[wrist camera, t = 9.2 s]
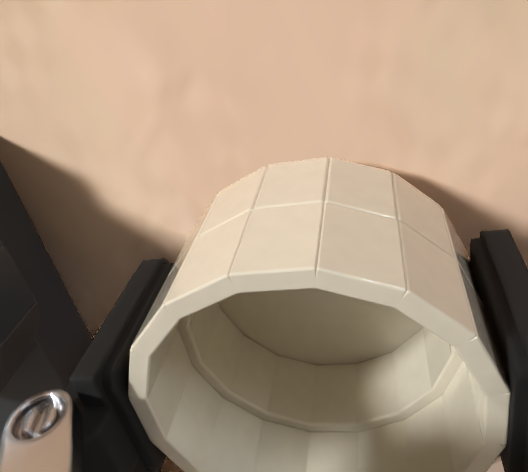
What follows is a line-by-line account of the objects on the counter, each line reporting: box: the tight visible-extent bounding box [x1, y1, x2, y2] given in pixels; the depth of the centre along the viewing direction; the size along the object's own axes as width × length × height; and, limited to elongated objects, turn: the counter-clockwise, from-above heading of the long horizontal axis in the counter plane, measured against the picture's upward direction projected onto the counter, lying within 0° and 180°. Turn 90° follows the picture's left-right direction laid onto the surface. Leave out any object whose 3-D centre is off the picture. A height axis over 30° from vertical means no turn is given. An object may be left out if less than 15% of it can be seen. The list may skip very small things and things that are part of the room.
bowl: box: [128, 157, 511, 472], centre depth 11 cm, size 7×7×4 cm
